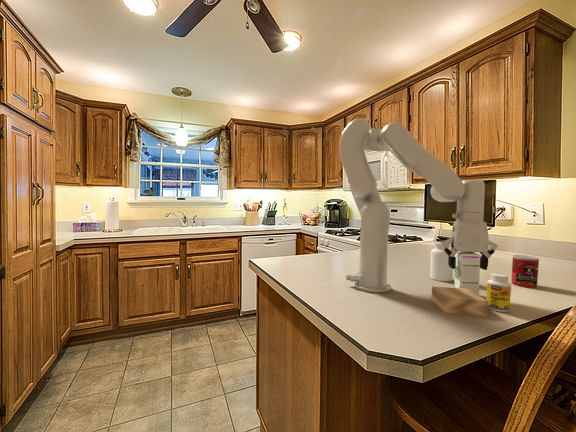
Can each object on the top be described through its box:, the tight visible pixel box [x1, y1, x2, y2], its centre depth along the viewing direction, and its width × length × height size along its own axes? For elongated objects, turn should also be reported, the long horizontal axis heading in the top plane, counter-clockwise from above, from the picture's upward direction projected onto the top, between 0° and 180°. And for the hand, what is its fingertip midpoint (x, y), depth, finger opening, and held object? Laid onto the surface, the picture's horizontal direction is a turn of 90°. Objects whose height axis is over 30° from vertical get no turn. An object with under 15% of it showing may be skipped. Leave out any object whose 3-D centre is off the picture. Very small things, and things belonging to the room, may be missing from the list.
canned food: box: [511, 254, 540, 289], centre depth 107 cm, size 8×8×11 cm
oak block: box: [431, 286, 489, 317], centre depth 83 cm, size 11×11×4 cm
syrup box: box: [453, 251, 481, 295], centre depth 94 cm, size 6×6×14 cm
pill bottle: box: [429, 241, 454, 282], centre depth 114 cm, size 8×8×15 cm
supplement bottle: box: [485, 272, 512, 313], centre depth 82 cm, size 6×6×10 cm
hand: (467, 268), depth 94 cm, fingers open, 9 cm apart
